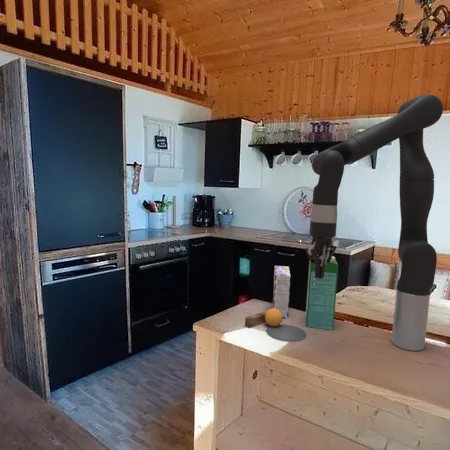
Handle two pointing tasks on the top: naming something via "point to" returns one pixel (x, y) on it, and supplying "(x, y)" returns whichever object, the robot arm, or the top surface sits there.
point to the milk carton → (322, 296)
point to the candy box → (281, 289)
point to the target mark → (286, 333)
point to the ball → (273, 317)
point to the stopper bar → (255, 320)
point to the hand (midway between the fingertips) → (319, 277)
